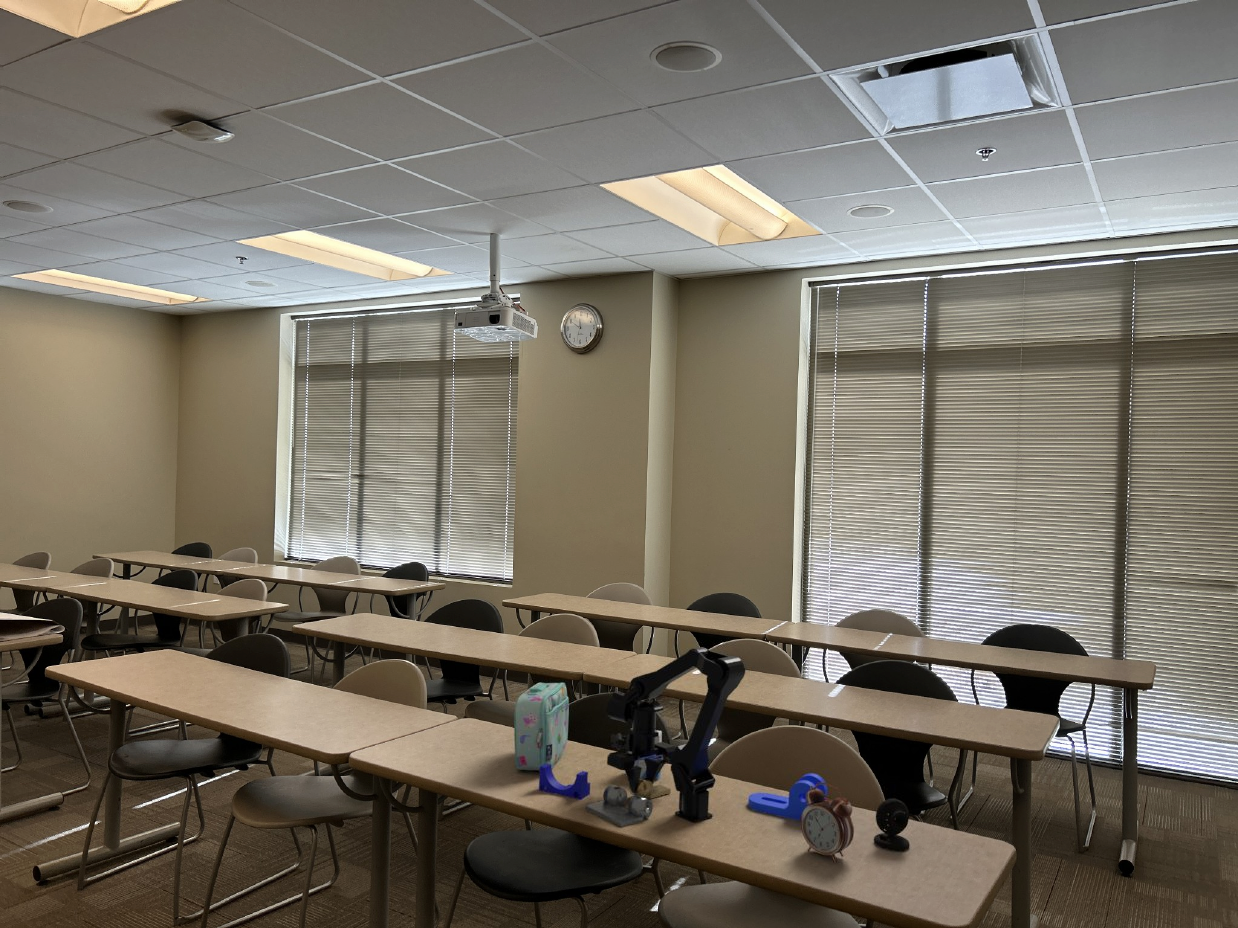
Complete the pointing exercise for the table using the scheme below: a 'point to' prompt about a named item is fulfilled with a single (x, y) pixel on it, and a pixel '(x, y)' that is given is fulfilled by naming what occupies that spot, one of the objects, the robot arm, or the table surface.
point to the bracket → (787, 798)
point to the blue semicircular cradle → (553, 786)
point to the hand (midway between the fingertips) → (641, 790)
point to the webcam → (892, 825)
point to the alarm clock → (827, 822)
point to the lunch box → (541, 725)
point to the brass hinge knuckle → (649, 789)
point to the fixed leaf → (621, 807)
